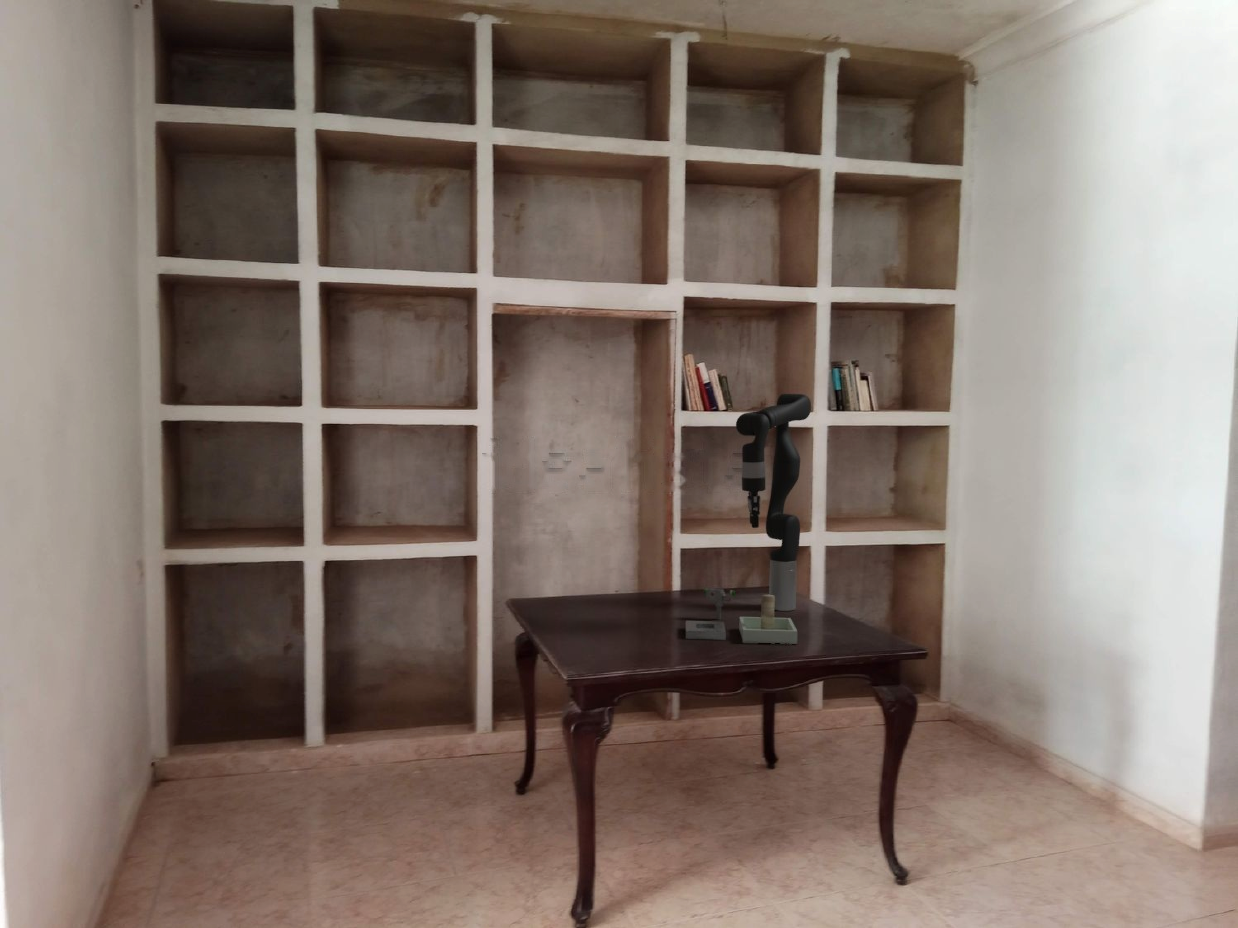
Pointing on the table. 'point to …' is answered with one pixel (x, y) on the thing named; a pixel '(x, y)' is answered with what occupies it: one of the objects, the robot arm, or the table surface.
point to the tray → (767, 631)
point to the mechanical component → (718, 598)
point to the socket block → (705, 630)
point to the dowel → (767, 612)
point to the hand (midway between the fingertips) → (754, 525)
